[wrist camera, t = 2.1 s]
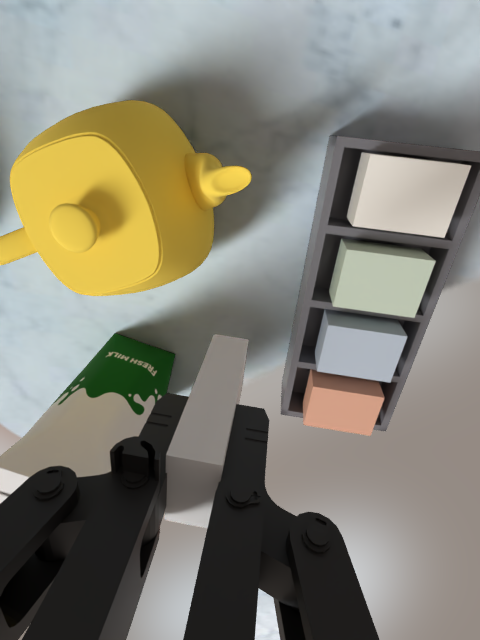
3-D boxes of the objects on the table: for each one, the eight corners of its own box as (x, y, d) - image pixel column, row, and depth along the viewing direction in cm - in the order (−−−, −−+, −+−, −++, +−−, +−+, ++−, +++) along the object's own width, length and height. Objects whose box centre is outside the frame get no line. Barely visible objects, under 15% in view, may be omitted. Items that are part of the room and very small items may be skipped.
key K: (324, 308, 30) (328, 325, 27) (397, 318, 30) (407, 336, 27) (314, 352, 32) (316, 371, 29) (381, 362, 32) (390, 382, 29)
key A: (361, 152, 24) (370, 154, 22) (451, 162, 24) (471, 165, 21) (346, 217, 26) (352, 226, 24) (428, 227, 26) (444, 237, 23)
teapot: (284, 237, 31) (282, 291, 21) (93, 289, 36) (9, 355, 25) (240, 62, 26) (204, 8, 15) (22, 150, 31) (-125, 158, 20)
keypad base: (329, 135, 27) (337, 135, 23) (462, 150, 27) (496, 153, 22) (281, 382, 39) (280, 414, 34) (374, 397, 38) (385, 431, 34)
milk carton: (97, 384, 42) (-41, 562, 24) (108, 321, 38) (-50, 483, 20) (168, 408, 42) (81, 601, 25) (186, 349, 38) (97, 531, 21)
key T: (341, 238, 27) (347, 249, 24) (421, 248, 27) (435, 261, 24) (329, 291, 29) (332, 306, 27) (403, 301, 29) (414, 317, 26)
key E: (311, 366, 33) (313, 386, 30) (376, 376, 32) (384, 397, 30) (302, 403, 35) (303, 424, 32) (364, 412, 34) (370, 435, 32)
